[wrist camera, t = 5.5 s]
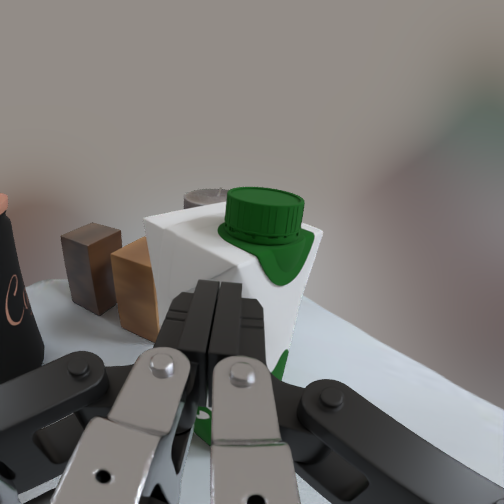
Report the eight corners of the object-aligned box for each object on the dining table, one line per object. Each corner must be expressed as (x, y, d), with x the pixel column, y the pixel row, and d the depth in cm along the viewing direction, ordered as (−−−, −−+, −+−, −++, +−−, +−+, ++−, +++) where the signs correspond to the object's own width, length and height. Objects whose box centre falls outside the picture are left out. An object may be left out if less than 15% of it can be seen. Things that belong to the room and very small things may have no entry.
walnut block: (72, 301, 36) (60, 235, 32) (100, 283, 41) (92, 222, 37) (99, 316, 34) (87, 245, 30) (127, 295, 39) (121, 230, 35)
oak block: (121, 327, 33) (110, 253, 29) (148, 304, 38) (144, 236, 34) (159, 345, 31) (152, 267, 27) (185, 318, 37) (185, 246, 32)
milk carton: (221, 469, 18) (240, 222, 10) (153, 404, 24) (127, 181, 16) (287, 411, 25) (342, 198, 17) (219, 364, 30) (233, 170, 22)
